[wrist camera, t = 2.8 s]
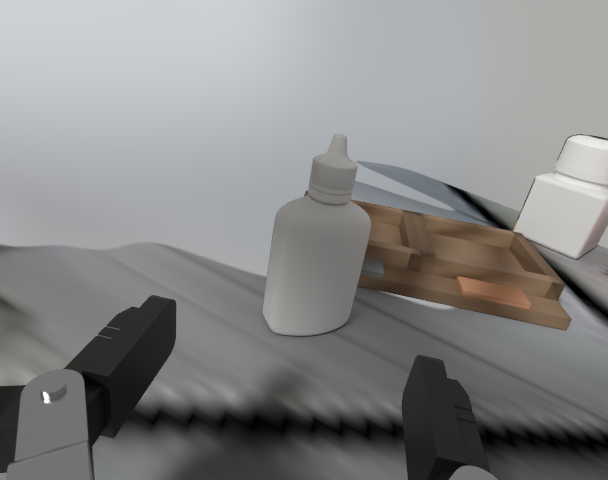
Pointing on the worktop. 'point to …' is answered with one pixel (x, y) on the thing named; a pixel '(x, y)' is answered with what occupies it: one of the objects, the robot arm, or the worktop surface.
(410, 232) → the wooden compartment tray
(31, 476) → the robot arm
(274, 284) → the eye dropper bottle
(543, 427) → the worktop surface
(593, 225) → the medicine bottle
